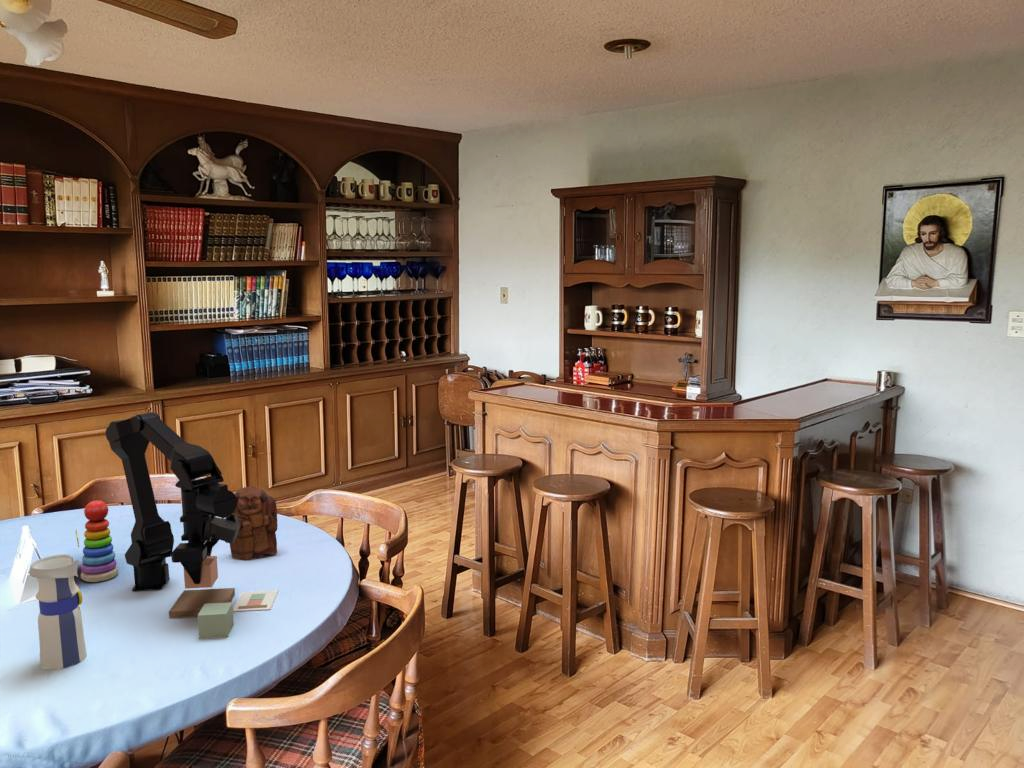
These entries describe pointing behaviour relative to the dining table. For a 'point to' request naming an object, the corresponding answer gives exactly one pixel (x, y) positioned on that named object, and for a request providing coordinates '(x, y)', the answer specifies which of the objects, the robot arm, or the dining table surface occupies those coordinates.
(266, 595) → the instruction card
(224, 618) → the sage block
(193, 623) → the dining table surface
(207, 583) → the terracotta block
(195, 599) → the walnut plate
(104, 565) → the stacking toy
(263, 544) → the wooden figurine
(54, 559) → the beige and blue vase
